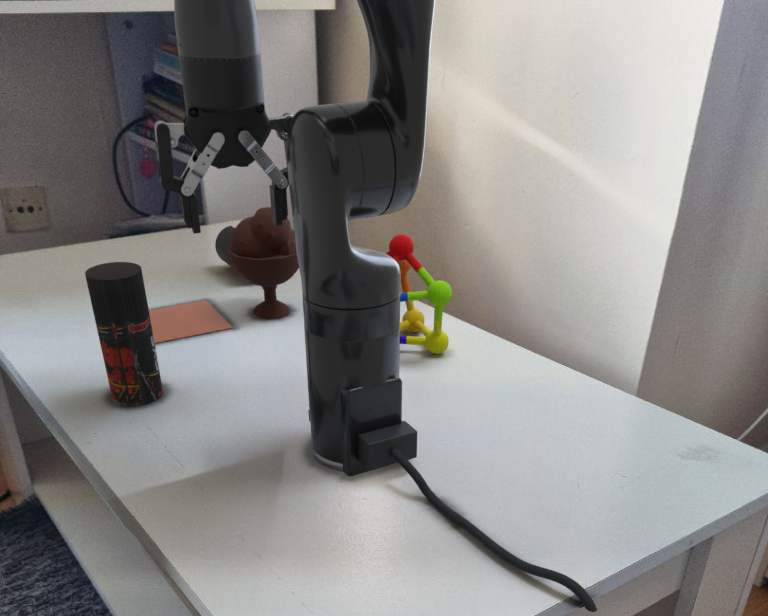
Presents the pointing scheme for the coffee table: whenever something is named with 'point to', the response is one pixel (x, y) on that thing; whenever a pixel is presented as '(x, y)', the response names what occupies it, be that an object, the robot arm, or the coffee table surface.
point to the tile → (185, 321)
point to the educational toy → (420, 298)
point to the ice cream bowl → (264, 258)
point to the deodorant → (125, 332)
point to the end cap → (224, 243)
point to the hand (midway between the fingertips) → (237, 227)
